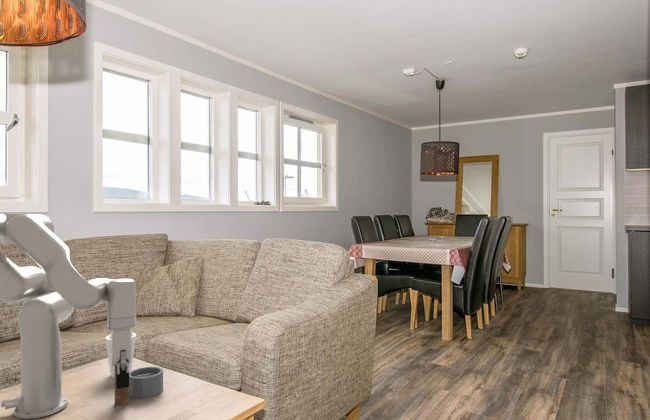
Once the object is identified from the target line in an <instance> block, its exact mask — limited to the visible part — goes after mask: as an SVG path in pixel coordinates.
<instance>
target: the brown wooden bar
mask: <svg viewBox="0 0 650 420" xmlns="http://www.w3.org/2000/svg"><path fill="white" fill-rule="evenodd" d="M120 356H121V355H120ZM119 363H120V362H119ZM128 372H129V364H128ZM116 374H118V373H117V365H115V378H114V408H117V407H122V406H127V405H129V398H130V397H129V387H126V388H120V389H117V387H116Z"/></svg>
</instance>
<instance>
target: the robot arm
mask: <svg viewBox="0 0 650 420" xmlns="http://www.w3.org/2000/svg"><path fill="white" fill-rule="evenodd" d="M0 242H4V243H5V242H11V243H14V244H15V245H16V246H17V248H19V249H20V250H21V251H22V252H23V253H25V254H26V256H28V257H29V258H30V259H31V260H32V261H33V262H34V263H36V264H37V265H38V266H39V267H37V266H33V265H26V266H25V265H24V266H18V265H17V264H16V263H14V262H13V261H12V260H11V259H9V257H7V256H6V254H4V253H3V252H1V251H0V301H1V302H4V303H6V304H15V303H19V302H22V301H26V302H25V303H24V304H23V305H22V306H21V307H20V309H19V311H18V315H17V326H18V329H19V330H18V331H19V337H20V363H21V364H20V372H21V373H20V374H21V375H20V395H19V396H18V395H17V396H15V398H7V399H2V400H1V402H0V407H1V408H4V409H5V410H8V409H9V410H10V409H13V408H14V410H13V416H14V417H15V418H17V419H23V420H24V419H25V420H31V419H38V418H43V417H47V416H50V415H54V414H56V413H58V412H61V411H62V410H63V409H65V408H66V407H67V406H68V404H69V403H68V400H69V399H68V398H67V397H66V396H62V364H63V363H62V361H63V360H62V359H63V358H62V357H63V355H62V354H63V353H62V352H63V351H62V349H63V348H62V347H63V346H62V344H63V343H62V335H61V332H60V327H59V324H60V323H62V322H64V321H65V320H67V319H69V318H70V317H71V316H72V314H73V313H74V309H76V310H82V311H85V310H91V309H93V308H96V306H99V305H102V304H104V303H106V304H107V311H106V312H107V316H106V317H107V321H106V322H107V323H106V324H107V326H106V327H107V328H106V329H107V330H108V331H110V332H111V333H110V335H111V365H112V366H114V365H117V373H118V374H116V387H117V389H120V388H126V387H129V372H128V364H129V363H130V362H131V346H132V333H133V331H132V330H133V329H134V328H135V327H137V282H136V281H135V279H133V278H116V279H111V278H103V277H95V278H92V279H88V280H87V279H86V278H85V277H83V275H81V274H80V272H78V271H77V270H76V268H75V267H74V266H73V264H72V261H71V260H70V259H71V258H70V256H71V249H70V248H69V246H68V245H67V244H65V242H64V241H63V240H62V239H60V238H59V237H58V236H57V235H56V234H55V225H54V222H53V221H52V220H51V219H50V218H49V217H47V216H46V215H44V214H39V213H5V212H4V213H3V212H0ZM120 355H121V356H120ZM119 362H120V363H119Z"/></svg>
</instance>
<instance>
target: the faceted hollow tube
mask: <svg viewBox="0 0 650 420" xmlns="http://www.w3.org/2000/svg"><path fill="white" fill-rule="evenodd" d="M155 372H156V373H157V374H156V375H153V376H149V377H133V376H136V375H143V374H149V373H155ZM163 391H164V370H163V368H162V367H159V366H145V367H139V368H136V369H132V370H131V372H130V373H129V398H132V399H133V400H134V399H135V400H136V399H137V400H138V399H140V400H142V399H149V398H152V397H156V396H158V395H160V394H161V393H162V392H163Z"/></svg>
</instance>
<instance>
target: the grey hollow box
mask: <svg viewBox="0 0 650 420" xmlns="http://www.w3.org/2000/svg"><path fill="white" fill-rule="evenodd" d="M156 374H157V373H156V372H155V373H149V374H143V375H136V376H133V377H149V376H153V375H156Z"/></svg>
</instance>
